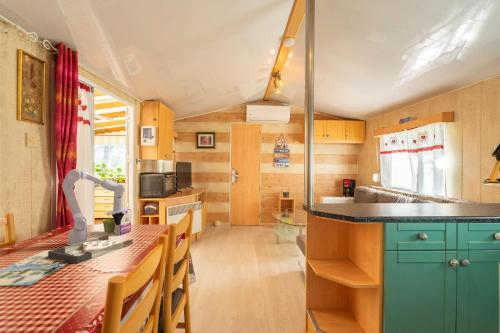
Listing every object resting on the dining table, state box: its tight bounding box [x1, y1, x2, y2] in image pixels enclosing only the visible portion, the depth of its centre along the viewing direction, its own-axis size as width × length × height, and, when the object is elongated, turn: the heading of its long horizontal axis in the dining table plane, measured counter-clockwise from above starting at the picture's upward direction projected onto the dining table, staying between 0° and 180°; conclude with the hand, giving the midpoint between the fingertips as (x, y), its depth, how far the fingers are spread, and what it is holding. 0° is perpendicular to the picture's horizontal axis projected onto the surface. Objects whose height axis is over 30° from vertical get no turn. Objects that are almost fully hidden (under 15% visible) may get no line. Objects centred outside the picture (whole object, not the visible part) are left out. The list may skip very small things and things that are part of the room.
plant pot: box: [102, 218, 115, 234], centre depth 184 cm, size 9×9×9 cm
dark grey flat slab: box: [47, 246, 93, 264], centre depth 132 cm, size 20×8×3 cm, turn 70°
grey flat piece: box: [64, 234, 134, 259], centre depth 148 cm, size 20×27×3 cm
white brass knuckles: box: [82, 239, 120, 254], centre depth 148 cm, size 3×18×15 cm
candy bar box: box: [114, 208, 132, 236], centre depth 182 cm, size 11×5×16 cm, turn 168°
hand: (117, 225), depth 166 cm, fingers closed
